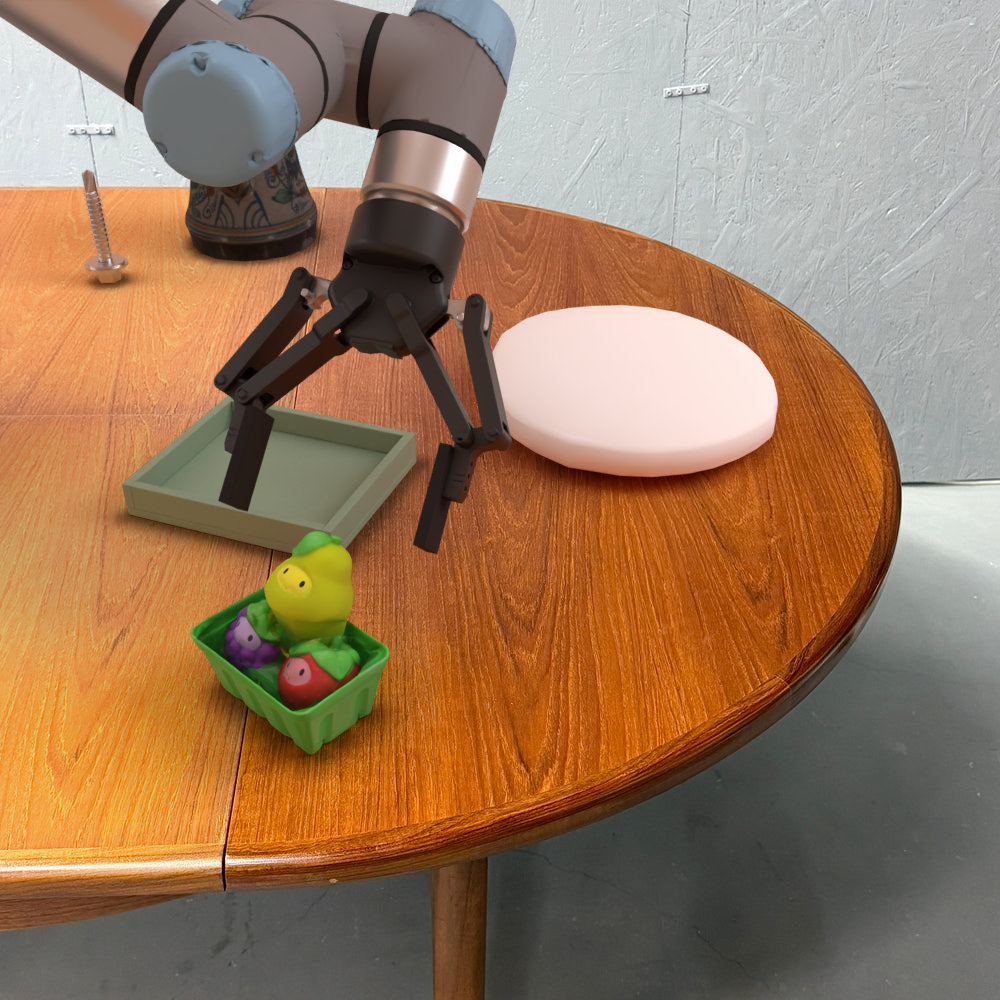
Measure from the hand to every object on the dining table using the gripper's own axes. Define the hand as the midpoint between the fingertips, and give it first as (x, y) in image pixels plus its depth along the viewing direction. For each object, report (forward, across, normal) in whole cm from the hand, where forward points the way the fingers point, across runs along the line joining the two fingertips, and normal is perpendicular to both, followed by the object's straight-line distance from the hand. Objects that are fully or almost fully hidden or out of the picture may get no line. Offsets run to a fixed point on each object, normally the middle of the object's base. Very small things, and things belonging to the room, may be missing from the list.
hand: (326, 528), depth 68 cm
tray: (-4, +14, -19) cm, 24 cm away
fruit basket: (+11, 0, -4) cm, 12 cm away
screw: (-27, +55, -42) cm, 74 cm away
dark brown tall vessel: (-39, +45, -54) cm, 80 cm away
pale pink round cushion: (-20, -10, -35) cm, 42 cm away
